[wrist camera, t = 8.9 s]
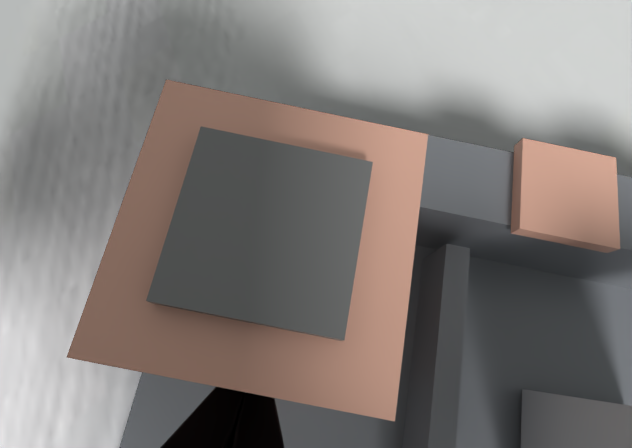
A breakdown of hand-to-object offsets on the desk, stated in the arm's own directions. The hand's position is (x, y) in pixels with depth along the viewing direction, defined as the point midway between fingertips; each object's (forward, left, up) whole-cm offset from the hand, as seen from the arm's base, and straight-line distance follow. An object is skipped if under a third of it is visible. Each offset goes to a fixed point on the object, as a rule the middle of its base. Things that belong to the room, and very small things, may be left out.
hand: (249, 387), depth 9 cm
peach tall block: (+2, +1, -6) cm, 6 cm away
